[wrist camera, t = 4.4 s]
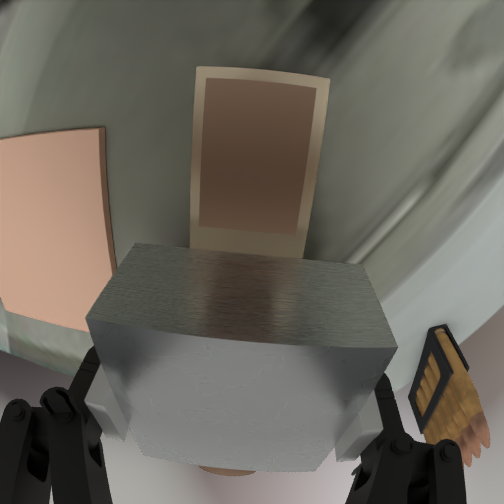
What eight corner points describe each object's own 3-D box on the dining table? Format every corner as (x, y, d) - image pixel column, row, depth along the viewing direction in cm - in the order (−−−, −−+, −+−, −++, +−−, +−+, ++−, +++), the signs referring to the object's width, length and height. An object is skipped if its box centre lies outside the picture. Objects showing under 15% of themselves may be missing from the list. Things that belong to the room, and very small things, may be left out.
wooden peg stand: (215, 74, 14) (151, 50, 6) (310, 83, 14) (375, 70, 6) (206, 367, 25) (188, 474, 16) (265, 373, 25) (264, 481, 16)
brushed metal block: (135, 242, 10) (84, 317, 7) (362, 264, 10) (398, 347, 7) (160, 391, 15) (143, 455, 11) (309, 405, 15) (314, 471, 12)
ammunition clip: (428, 327, 22) (483, 447, 12) (446, 323, 22) (504, 436, 12) (407, 397, 27) (435, 493, 17) (422, 393, 27) (452, 486, 17)
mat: (-29, 144, 15) (-36, 147, 15) (104, 127, 16) (98, 129, 15) (9, 305, 23) (5, 310, 23) (129, 332, 23) (125, 339, 23)
